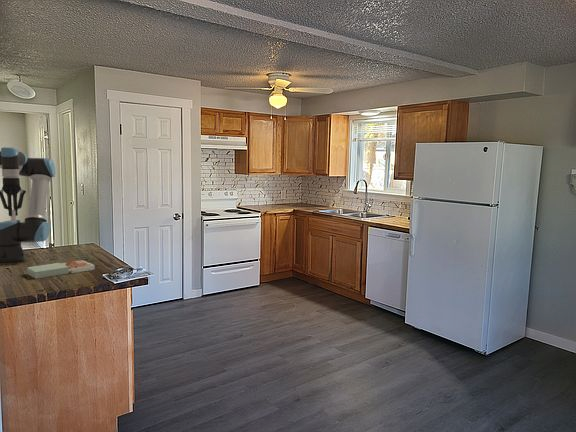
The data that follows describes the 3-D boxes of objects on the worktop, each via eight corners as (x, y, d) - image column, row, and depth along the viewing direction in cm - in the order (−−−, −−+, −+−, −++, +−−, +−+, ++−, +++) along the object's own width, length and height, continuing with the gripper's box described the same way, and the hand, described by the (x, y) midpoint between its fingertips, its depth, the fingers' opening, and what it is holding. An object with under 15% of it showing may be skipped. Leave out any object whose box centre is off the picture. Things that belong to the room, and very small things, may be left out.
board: (27, 273, 227) (26, 267, 227) (59, 268, 239) (59, 262, 238) (36, 278, 218) (35, 272, 218) (69, 273, 230) (68, 266, 230)
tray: (59, 268, 240) (59, 263, 240) (82, 264, 249) (82, 260, 249) (71, 273, 229) (70, 269, 229) (94, 269, 239) (94, 265, 238)
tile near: (69, 268, 238) (64, 265, 236) (74, 261, 240) (70, 258, 238) (72, 270, 235) (67, 267, 233) (77, 263, 237) (73, 260, 235)
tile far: (82, 261, 243) (82, 266, 243) (73, 262, 240) (74, 267, 240) (85, 262, 240) (85, 267, 240) (76, 263, 236) (77, 269, 237)
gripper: (-2, 177, 219) (1, 224, 222) (27, 177, 229) (29, 221, 231) (-6, 177, 224) (-3, 222, 227) (22, 176, 233) (25, 220, 236)
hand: (13, 222), depth 229 cm, fingers closed
